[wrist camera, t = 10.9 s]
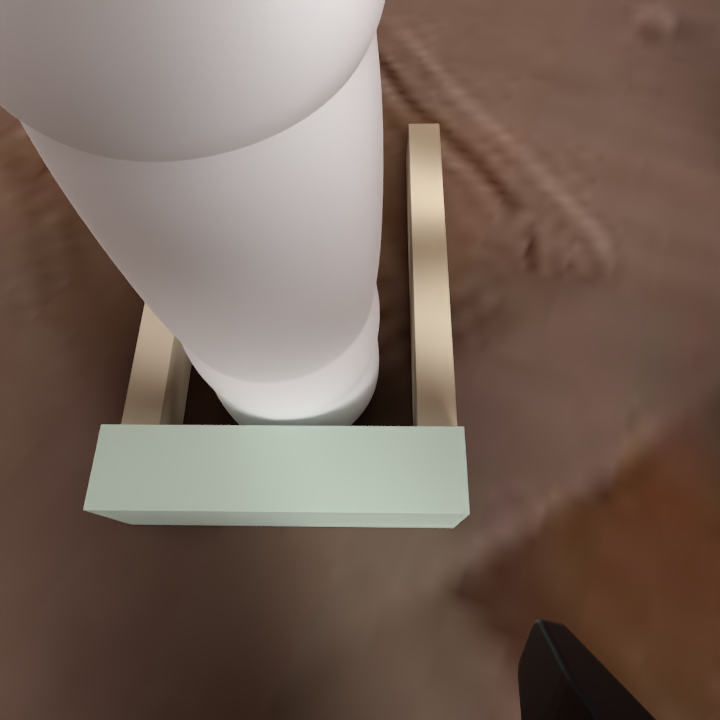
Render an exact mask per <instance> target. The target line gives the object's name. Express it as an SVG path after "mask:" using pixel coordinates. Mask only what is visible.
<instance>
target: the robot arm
mask: <svg viewBox="0 0 720 720" xmlns="http://www.w3.org/2000/svg"><path fill="white" fill-rule="evenodd" d="M518 683H519V695H520V707H521V720H656V719H655V718H654V717H653V716H652V715H651V714H650V713H649V712H648V711H647V710H646V709H645V708H644V707H643V706H642V705H641V704H640V703H639V702H638V701H637V700H636V699H635V698H634V697H633V696H632V694H631V693H630V692H629V691H628V690H627V689H626V688H625V687H624V686H623V685H622V684H621V683H620V682H619V681H618V680H617V679H616V678H615V677H614V676H613V675H612V674H611V673H610V672H609V671H608V670H607V669H606V667H605V666H604V665H603V664H602V663H601V662H600V661H599V660H598V659H597V658H596V657H595V656H594V655H593V654H592V653H591V652H590V651H589V650H588V649H587V648H586V647H585V646H584V645H583V644H582V643H581V642H580V640H579V639H578V638H577V637H576V636H575V635H574V634H573V633H572V632H571V631H570V630H569V629H568V628H567V627H566V626H565V625H563V624H561V623H557V622H553V621H549V620H545V619H538V620H536V621H535V623H534V624H533V626H532V628H531V631H530V634H529V636H528V639H527V642H526V644H525V647H524V649H523V652H522V655H521V657H520V661H519V666H518Z"/></svg>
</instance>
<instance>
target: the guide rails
mask: <svg viewBox="0 0 720 720" xmlns="http://www.w3.org/2000/svg"><path fill="white" fill-rule="evenodd" d="M406 180H407V218H408V255H409V292H410V330H411V367H412V404H413V426H443V427H457V413H456V396H455V380H454V363H453V347H452V330H451V314H450V297H449V280H448V264H447V247H446V231H445V214H444V198H443V181H442V164H441V148H440V131H439V124H409V127H408V141H407V154H406ZM191 366H192V363H191V361H190V359H189V357H188V356H187V354H186V352H185V350H184V348H183V345H182V343H181V342H180V341H179V340H178V339H177V338H176V337H175V336H174V335H173V334H172V333H171V332H170V331H169V329H168V328H167V327H166V326H165V325H164V324H163V323H162V322H161V321H160V320H159V318H158V317H157V316H156V315H155V314H154V313H153V311H152V310H151V309H150V308H149V307H148V305H147V304H146V303H145V304H144V309H143V315H142V320H141V325H140V330H139V335H138V340H137V345H136V350H135V356H134V361H133V366H132V371H131V376H130V381H129V386H128V391H127V397H126V402H125V407H124V412H123V417H122V422H121V425H183V420H184V413H185V406H186V399H187V393H188V386H189V379H190V372H191Z"/></svg>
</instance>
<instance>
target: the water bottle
mask: <svg viewBox="0 0 720 720" xmlns="http://www.w3.org/2000/svg"><path fill="white" fill-rule="evenodd" d="M384 4H385V0H0V106H1V107H2V108H3V109H5V110H6V111H7V112H9V113H10V114H11V115H12V116H14V117H15V118H17V119H18V120H19V121H20V123H21V124H22V126H23V128H24V129H25V131H26V133H27V134H28V136H29V138H30V139H31V141H32V143H33V145H34V146H35V148H36V150H37V151H38V153H39V155H40V156H41V158H42V159H43V161H44V163H45V164H46V166H47V167H48V169H49V171H50V172H51V174H52V175H53V177H54V179H55V180H56V182H57V183H58V185H59V186H60V188H61V189H62V191H63V192H64V194H65V195H66V197H67V198H68V200H69V201H70V203H71V204H72V206H73V207H74V209H75V210H76V211H77V213H78V214H79V216H80V217H81V219H82V220H83V221H84V223H85V224H86V226H87V227H88V228H89V230H90V231H91V233H92V234H93V235H94V237H95V238H96V240H97V241H98V242H99V244H100V245H101V246H102V248H103V249H104V250H105V252H106V253H107V254H108V256H109V257H110V258H111V260H112V261H113V262H114V264H115V265H116V266H117V268H118V269H119V270H120V272H121V273H122V274H123V275H124V277H125V278H126V279H127V281H128V282H129V283H130V284H131V286H132V287H133V288H134V289H135V291H136V292H137V293H138V294H139V296H140V297H141V298H142V299H143V301H144V302H145V303H146V304H147V305H148V307H149V308H150V309H151V310H152V311H153V313H154V314H155V315H156V316H157V317H158V318H159V320H160V321H161V322H162V323H163V324H164V325H165V326H166V327H167V328H168V329H169V331H170V332H171V333H172V334H173V335H174V336H175V337H176V338H177V339H178V340H179V341H180V342H181V343H182V345H183V348H184V350H185V352H186V354H187V356H188V357H189V359H190V361H191V363H192V364H193V366H194V367H195V368H196V370H197V371H198V373H199V374H200V375H201V376H202V378H203V379H204V380H205V381H206V382H207V383H208V384H209V385H210V386H211V387H212V388H213V389H214V390H215V392H216V394H217V396H218V398H219V399H220V401H221V403H222V404H223V406H224V407H225V409H226V410H227V411H228V413H229V414H230V415H231V416H232V418H233V419H234V420H235V421H236V422H237V423H238V424H239V425H280V426H351V425H352V424H353V423H354V422H355V421H356V420H357V419H358V418H359V417H360V415H361V414H362V413H363V411H364V410H365V409H366V407H367V406H368V404H369V402H370V400H371V398H372V396H373V394H374V391H375V388H376V384H377V379H378V373H379V348H378V340H377V338H378V331H379V321H380V306H379V296H378V290H377V285H376V281H377V274H378V267H379V257H380V246H381V230H382V206H383V116H382V94H381V79H380V65H379V54H378V44H377V34H376V30H377V27H378V24H379V21H380V18H381V15H382V11H383V8H384Z"/></svg>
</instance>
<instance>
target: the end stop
mask: <svg viewBox="0 0 720 720" xmlns="http://www.w3.org/2000/svg"><path fill="white" fill-rule="evenodd" d="M83 510H85V511H88V512H91V513H95V514H98V515H101V516H105V517H108V518H111V519H115V520H118V521H121V522H125V523H128V524H131V525H221V526H313V527H405V528H454V527H455V526H456V525H458V524H459V523H460V522H461V521H462V520H463V519H465V518H466V517H467V516H468V515H469V514H470V509H469V494H468V479H467V463H466V448H465V433H464V427H443V426H280V425H117V424H101V427H100V432H99V437H98V441H97V446H96V451H95V456H94V460H93V465H92V470H91V475H90V479H89V484H88V489H87V494H86V498H85V503H84V508H83Z"/></svg>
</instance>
